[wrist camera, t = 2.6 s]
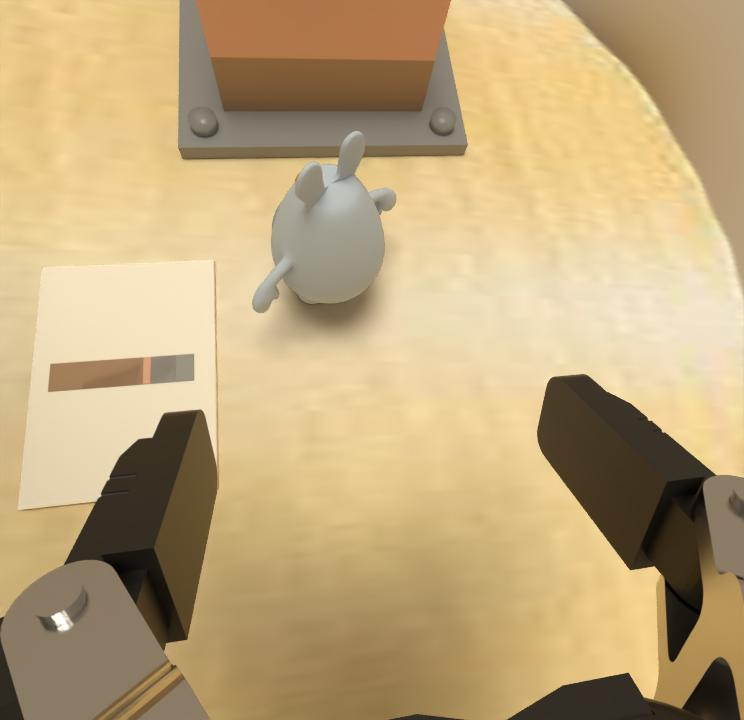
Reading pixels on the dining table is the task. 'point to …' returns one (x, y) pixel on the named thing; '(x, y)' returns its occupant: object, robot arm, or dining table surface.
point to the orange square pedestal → (316, 78)
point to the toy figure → (327, 232)
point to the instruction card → (113, 369)
